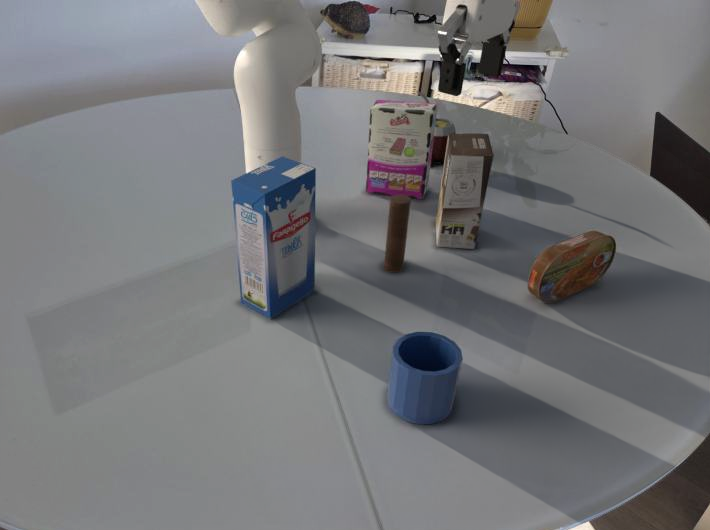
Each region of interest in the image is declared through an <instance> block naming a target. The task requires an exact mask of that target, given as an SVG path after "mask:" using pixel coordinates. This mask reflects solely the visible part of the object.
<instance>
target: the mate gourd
mask: <svg viewBox="0 0 710 530" xmlns="http://www.w3.org/2000/svg"><path fill="white" fill-rule="evenodd" d="M416 93H417V94H418V95H419V96H420V97H421V98H422V99H423V100H424V103H430V100H429V99H428V98H427V96H426V95H425V94H423V93H422V92H420V91H418V90H416ZM448 134H457V133H456V127H455V124H454V123H453V121H451V120H450V119H447V118H439V117H436V123H435V131H434V140H433V148H432V156H431V165H430V168H432V167H433V165H434V164H435V163H436V164H442V165H444V160H445V154H446V147H447V140H448Z"/></svg>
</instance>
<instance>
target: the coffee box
mask: <svg viewBox="0 0 710 530" xmlns="http://www.w3.org/2000/svg"><path fill="white" fill-rule="evenodd" d="M490 139H491V138H490V135H489V133H477V132H476V133H473V132H471V133H456V134H448V140H447V147H446V154H445V160H444V164H443V167H442V168H443V169H442V176H441V183H440V188H439V197H438V205H437V211H436V216H435V234H436V235H435V236H436V247H438V248H450V249H465V250H474V249H475V248H476V244H477V239H478V235H479V229H480V225H481V220H482V214H483V209H484V204H485V201H486V200H485V199H486V196H487V195H486V194H487V191H488V190H487V189H488V186H489V180H490V176H491V170H492V166H493V162H494V161H493V160H494V158H495V155H494V151H493V147H492V143H491V140H490Z"/></svg>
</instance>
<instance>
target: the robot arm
mask: <svg viewBox="0 0 710 530" xmlns="http://www.w3.org/2000/svg"><path fill="white" fill-rule="evenodd" d="M194 2H195V3H196V5H197V7H198V8H199V10H200V12H201V13H202V14H203V16H204V18H205V20H206V21H207V23H208V24H209V26H210V27H211V28H212V30H214V31H215V33H217V34H218V35H220V36H222V37H224V38H235V37H238V36H242V35H244V34H246V33H249V32H250V31H252V32H253V34H254V35H255V37H254V38H252V39H251V40H250V41H248V42H247V43H246V44H245V45H244V46H243V47H242V49H241V50H240V52H239V53H238V55H237V57H236V59H235V62H234V68H233V80H234V81H233V82H234V87H235V91H236V95H237V98H238V103H239V106H240V112H241V113H240V114H241V123H242V136H243V146H244V147H243V149H244V161H245V163H244V164H245V174H246V173H248V172H250V171H252V170H255V169H257V168H259V167H261V166H263V165H265V164H267V163H269V162H271V161H274V160H276V159H278V158H280V157H285V158H288V159H291V160H294V161H297V162H299V163H302V121H301V114H300V110H299V106H298V102H297V97H296V92H297V89H298V88H299V87H300V86H301V85H303V84H304V83H306V81H308V80H309V79H310V78H311V77H313V76H314V74H315V73H317V71H318V69H319V67H320V65H321V63H322V58H323V46H322V41H321V38H320V36H319V33H318V32H317V29H316V27H315V25H314V23H313V21H312V20H311V18H310V16H309V15H308V13H307V11H306V9H305V7H304V5H303V4H302V2H301V1H300V0H194ZM520 9H521V2H520V1H518V0H446V3H445V8H444V13H443V18H442V25H441V26H440V28H439V29H438V31H437V37H438V44H439V46H438V52H439V53H440V54H439V55H440V56H439V60H440V61H441V66H440V73H439V77H438V78H439V79H438V86H437V91H438V92H439V93H442V94H446V95H450V96H453V97H458V96H460V95H462V91H463V85H464V80H465V75H466V68H467V62H465V59H466V57H467V55H468V54H469V51H470V49H471V47H472V46H473V45H474V46H475V45H477V44H480V43H482V48H481V52H480V53H481V54H480V58H479V65H478V69H477V71H478V74H481V75H484V76H487V77H488V76H489V77H493V78H499V77H500V76H501V75H502V71H503V68H504V67H503V66H504V62H505V57H506V53H507V47H508V46H507V45H508V44H509V43H510V41H511V35H510V34H511V32H512V30H513V29H514V27H515V24H516V21H515V20H516V18H517V16H518V13H519V11H520ZM457 45H460V46H461V47H460V49H458V47H457Z"/></svg>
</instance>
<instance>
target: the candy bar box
mask: <svg viewBox="0 0 710 530" xmlns="http://www.w3.org/2000/svg"><path fill="white" fill-rule="evenodd" d="M437 114H438V103H433V102H429V103H425V102H420V101H404V100H390V99H389V100H387V99H376V100H375V102H374V103H373V105H372V106H371V107H370V110H369V128H368V130H369V131H368V147H367V165H366V180H365V193H366V194H373V195H381V196H390V197H392V196H393V195H397V194H403V195H407V196H409V197H410V198H411V199H416V200H417V199H418V200H424V198H425V195H426V193H427V191H428V188H429V181H430V173H431V167H430V165H431V156H432V148H433V140H434V131H435V123H436V118H437Z"/></svg>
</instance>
